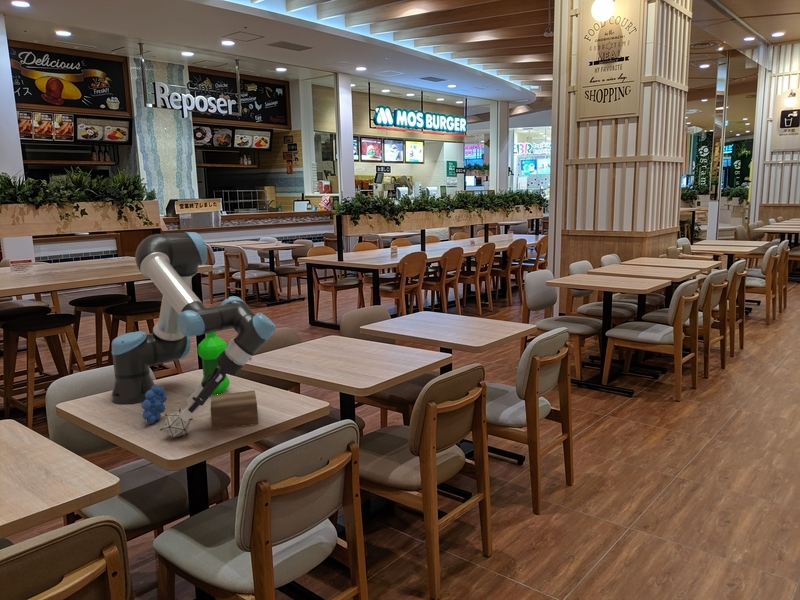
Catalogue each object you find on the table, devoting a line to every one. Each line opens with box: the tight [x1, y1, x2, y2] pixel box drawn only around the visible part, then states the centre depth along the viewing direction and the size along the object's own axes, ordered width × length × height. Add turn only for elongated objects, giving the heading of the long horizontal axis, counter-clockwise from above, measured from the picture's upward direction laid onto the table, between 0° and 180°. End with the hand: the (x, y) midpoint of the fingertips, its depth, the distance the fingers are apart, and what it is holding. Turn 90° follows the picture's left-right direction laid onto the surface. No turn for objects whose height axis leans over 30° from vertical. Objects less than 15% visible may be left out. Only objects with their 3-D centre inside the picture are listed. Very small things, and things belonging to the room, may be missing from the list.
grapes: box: [141, 384, 168, 425], centre depth 197 cm, size 12×7×12 cm, turn 167°
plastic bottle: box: [197, 331, 230, 396], centre depth 223 cm, size 10×10×25 cm
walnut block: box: [210, 390, 259, 430], centre depth 197 cm, size 14×14×7 cm
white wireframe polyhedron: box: [159, 408, 194, 441], centre depth 184 cm, size 9×8×10 cm
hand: (186, 410), depth 183 cm, fingers open, 13 cm apart
